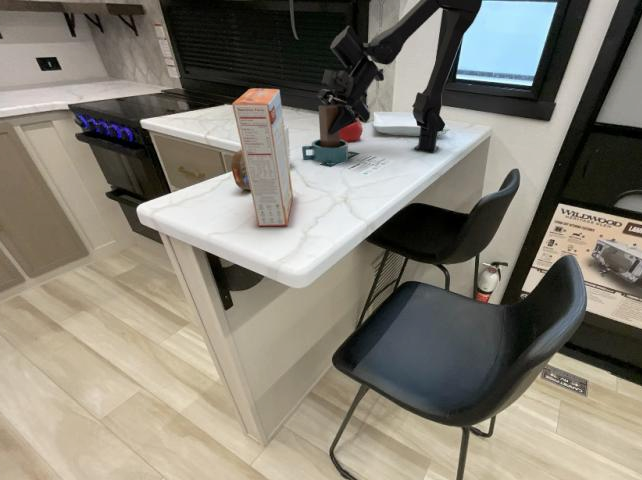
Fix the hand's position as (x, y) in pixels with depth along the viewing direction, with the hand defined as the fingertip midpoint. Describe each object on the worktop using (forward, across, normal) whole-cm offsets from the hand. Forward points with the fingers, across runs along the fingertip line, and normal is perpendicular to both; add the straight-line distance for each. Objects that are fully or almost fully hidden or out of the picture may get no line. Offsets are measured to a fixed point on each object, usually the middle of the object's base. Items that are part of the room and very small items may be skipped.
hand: (325, 131), depth 90 cm
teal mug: (+5, 0, +5) cm, 8 cm away
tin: (+22, +7, -11) cm, 26 cm away
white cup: (+16, -1, -5) cm, 16 cm away
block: (+4, 0, +6) cm, 7 cm away
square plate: (-28, -18, +39) cm, 51 cm away
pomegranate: (-7, -15, +18) cm, 24 cm away
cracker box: (+24, +24, -13) cm, 36 cm away
